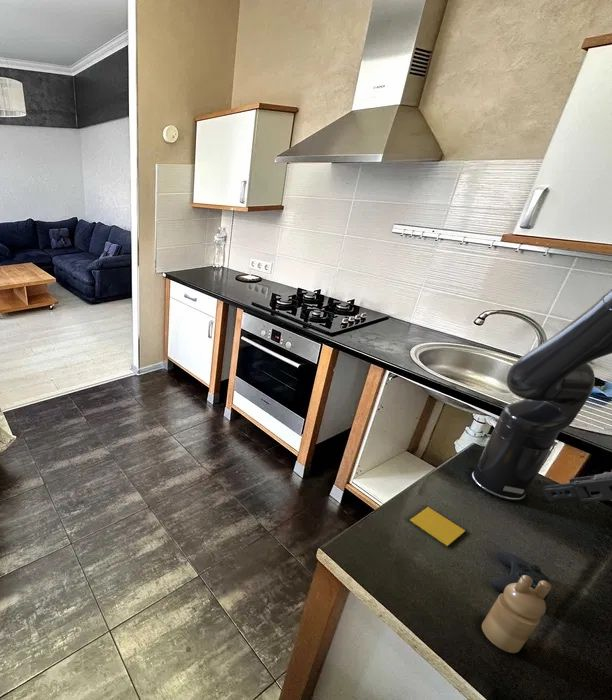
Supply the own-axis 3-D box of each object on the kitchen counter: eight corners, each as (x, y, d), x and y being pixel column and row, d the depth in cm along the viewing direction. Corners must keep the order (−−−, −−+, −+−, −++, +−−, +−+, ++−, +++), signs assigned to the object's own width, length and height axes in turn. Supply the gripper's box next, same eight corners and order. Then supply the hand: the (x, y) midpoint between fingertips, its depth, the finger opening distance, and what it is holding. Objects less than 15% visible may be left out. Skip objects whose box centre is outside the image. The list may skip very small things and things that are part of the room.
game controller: (493, 549, 71) (534, 548, 67) (512, 576, 70) (554, 576, 66) (487, 583, 65) (531, 584, 61) (507, 613, 64) (553, 617, 60)
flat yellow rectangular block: (427, 507, 82) (428, 506, 81) (464, 531, 76) (465, 530, 76) (409, 520, 78) (410, 519, 78) (447, 546, 73) (447, 545, 73)
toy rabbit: (477, 615, 61) (510, 560, 56) (512, 628, 60) (550, 571, 54) (487, 644, 57) (524, 588, 52) (526, 658, 56) (568, 601, 50)
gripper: (723, 435, 49) (566, 460, 63) (683, 447, 44) (521, 471, 57) (772, 495, 46) (596, 507, 60) (736, 515, 41) (551, 524, 54)
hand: (559, 489), depth 58 cm, fingers open, 8 cm apart
